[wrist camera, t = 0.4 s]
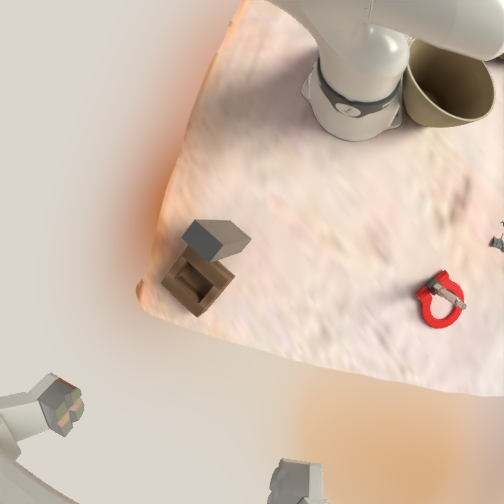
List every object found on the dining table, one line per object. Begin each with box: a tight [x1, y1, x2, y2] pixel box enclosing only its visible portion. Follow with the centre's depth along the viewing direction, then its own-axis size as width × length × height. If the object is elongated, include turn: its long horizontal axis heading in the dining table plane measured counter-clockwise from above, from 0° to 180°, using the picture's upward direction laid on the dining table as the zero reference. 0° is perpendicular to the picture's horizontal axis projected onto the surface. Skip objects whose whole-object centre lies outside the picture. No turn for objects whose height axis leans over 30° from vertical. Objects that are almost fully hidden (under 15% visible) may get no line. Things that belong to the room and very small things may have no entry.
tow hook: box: [415, 270, 466, 328], centre depth 40 cm, size 9×14×10 cm
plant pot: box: [402, 38, 495, 128], centre depth 37 cm, size 15×15×16 cm
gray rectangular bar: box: [181, 220, 251, 263], centre depth 46 cm, size 3×5×16 cm, turn 50°
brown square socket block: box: [161, 245, 235, 317], centre depth 54 cm, size 9×9×4 cm
